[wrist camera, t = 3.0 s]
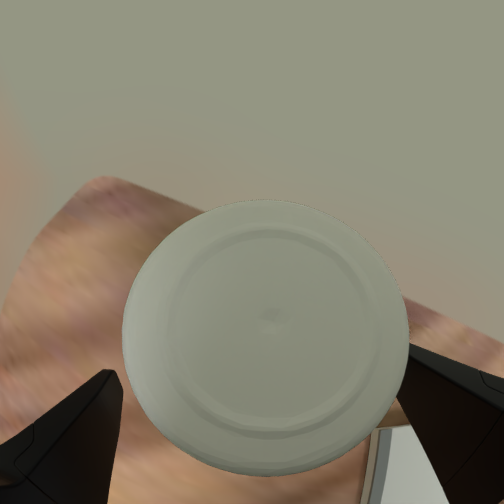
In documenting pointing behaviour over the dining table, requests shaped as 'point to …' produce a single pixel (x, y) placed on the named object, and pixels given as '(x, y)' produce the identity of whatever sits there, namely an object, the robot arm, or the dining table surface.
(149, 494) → the dining table surface
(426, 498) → the base
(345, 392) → the sprinkles bottle
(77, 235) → the dining table surface
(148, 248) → the dining table surface
